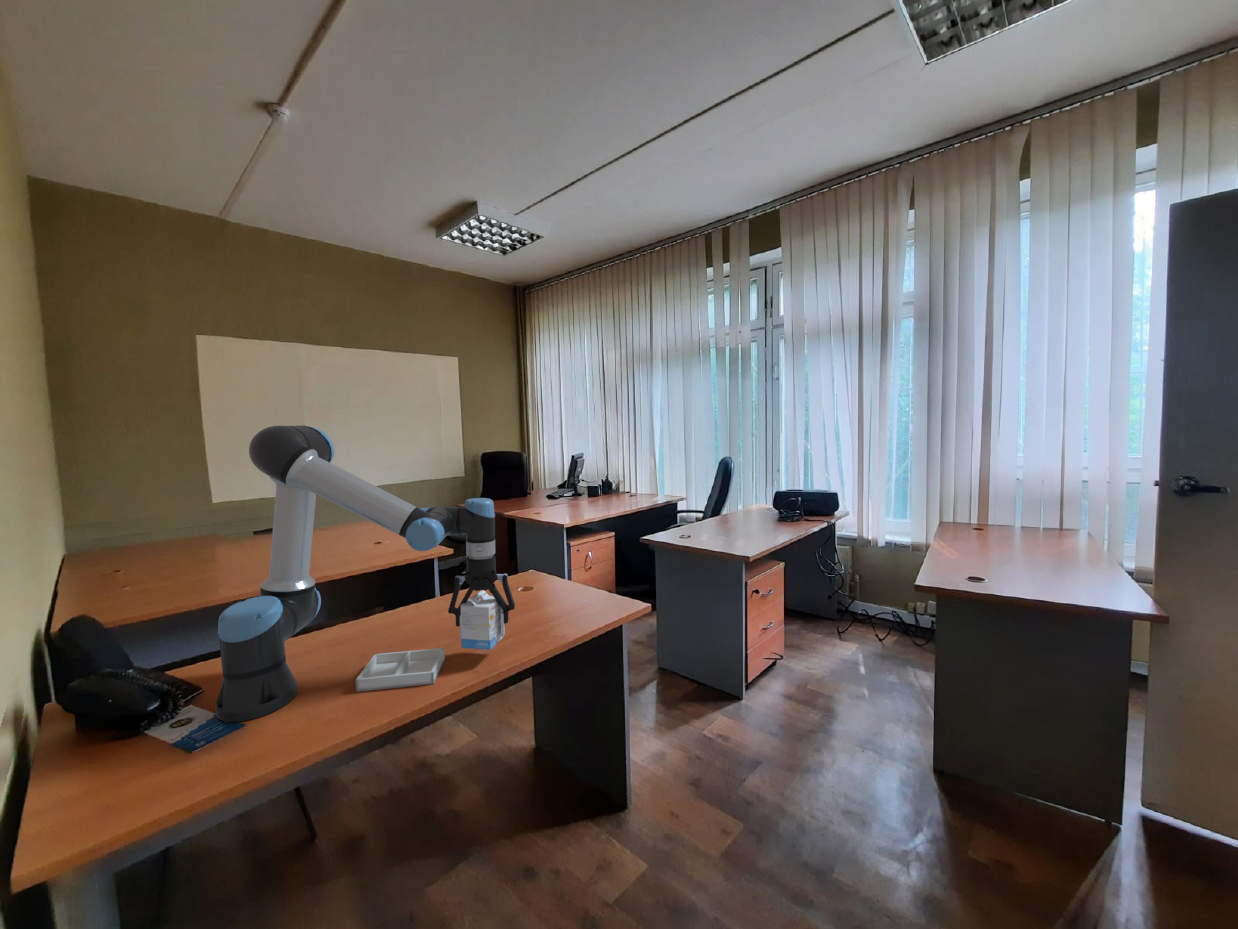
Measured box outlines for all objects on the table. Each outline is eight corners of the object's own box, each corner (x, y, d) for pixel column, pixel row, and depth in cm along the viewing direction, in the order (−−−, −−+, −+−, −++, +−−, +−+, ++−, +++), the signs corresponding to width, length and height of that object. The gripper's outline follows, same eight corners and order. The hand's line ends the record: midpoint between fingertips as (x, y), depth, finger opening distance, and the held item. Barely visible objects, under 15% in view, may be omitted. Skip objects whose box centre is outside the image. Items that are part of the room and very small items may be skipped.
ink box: (489, 651, 124) (488, 601, 123) (460, 648, 126) (459, 599, 125) (504, 636, 133) (503, 590, 132) (476, 634, 134) (475, 588, 133)
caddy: (356, 691, 114) (355, 680, 114) (375, 665, 127) (374, 654, 127) (433, 684, 117) (433, 672, 116) (444, 658, 130) (444, 647, 129)
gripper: (433, 561, 122) (436, 645, 124) (523, 557, 126) (524, 639, 127) (440, 553, 129) (442, 632, 131) (524, 550, 133) (525, 627, 135)
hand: (482, 636), depth 129 cm, fingers closed on ink box, 10 cm apart
